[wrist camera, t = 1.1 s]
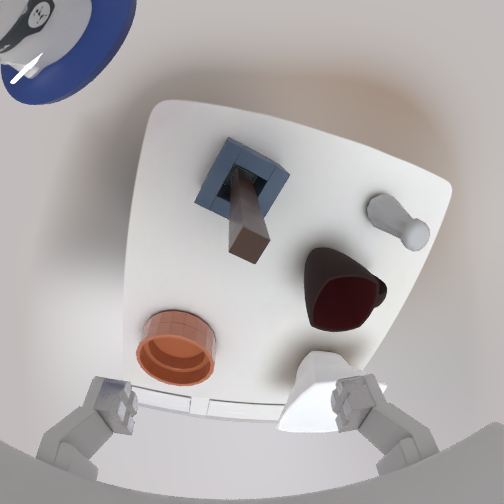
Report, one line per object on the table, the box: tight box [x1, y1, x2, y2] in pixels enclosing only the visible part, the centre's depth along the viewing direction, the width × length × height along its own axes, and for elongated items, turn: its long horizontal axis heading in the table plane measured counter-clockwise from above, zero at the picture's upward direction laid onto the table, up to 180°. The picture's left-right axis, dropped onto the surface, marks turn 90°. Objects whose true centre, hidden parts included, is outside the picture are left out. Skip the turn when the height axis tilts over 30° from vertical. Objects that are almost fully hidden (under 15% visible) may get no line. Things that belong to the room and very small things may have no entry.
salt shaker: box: [367, 194, 430, 251], centre depth 37 cm, size 6×6×13 cm
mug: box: [304, 248, 387, 332], centre depth 42 cm, size 10×14×12 cm
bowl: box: [277, 351, 387, 432], centre depth 52 cm, size 19×19×14 cm
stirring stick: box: [229, 167, 270, 264], centre depth 29 cm, size 2×2×24 cm
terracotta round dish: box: [136, 311, 216, 386], centre depth 49 cm, size 14×14×7 cm
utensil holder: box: [194, 137, 290, 220], centre depth 36 cm, size 8×8×8 cm
